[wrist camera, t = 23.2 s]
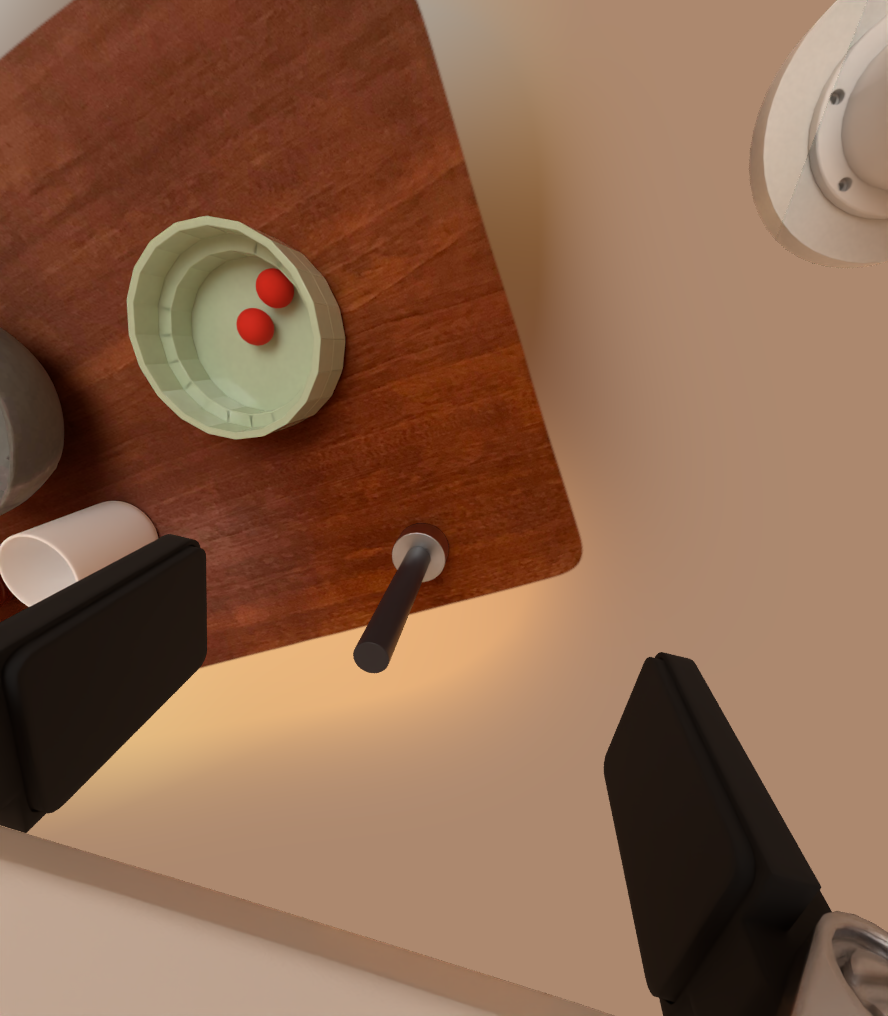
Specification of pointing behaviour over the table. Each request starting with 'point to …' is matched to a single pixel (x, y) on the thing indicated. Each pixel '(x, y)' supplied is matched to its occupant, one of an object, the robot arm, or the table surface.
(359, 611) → the table surface
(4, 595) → the mug
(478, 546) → the table surface
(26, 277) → the table surface
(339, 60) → the table surface
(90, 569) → the cup
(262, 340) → the tomato
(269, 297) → the tomato
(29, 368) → the bowl
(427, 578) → the dark post
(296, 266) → the mixing bowl
